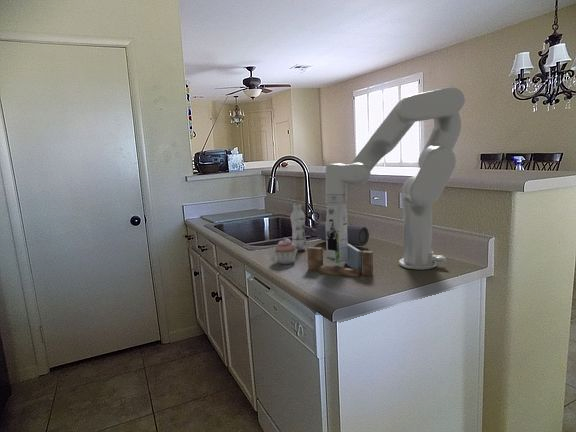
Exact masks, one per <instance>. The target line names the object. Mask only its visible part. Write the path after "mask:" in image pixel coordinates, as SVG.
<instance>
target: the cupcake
mask: <svg viewBox="0 0 576 432" xmlns="http://www.w3.org/2000/svg"><path fill="white" fill-rule="evenodd" d="M298 251H299V250H298V249H296V248H295V245H294V243H292V239H290V238H288V237H285V236H284V237H283V239H282V240H279V241H278V243H277V244H276V245H275V249H274V250H273V253H274V255H275V256H276V259H277V262H278V264H280V265H292V264H293V263H295V261H296V257H297V253H298Z"/></svg>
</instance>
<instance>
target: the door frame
mask: <svg viewBox="0 0 576 432" xmlns="http://www.w3.org/2000/svg"><path fill="white" fill-rule="evenodd" d="M306 248H307V269H308V270H309V271H316V272H317V271H318V273H319V274H327V275H338V276H346V277H357V278H358V277H360V275H361V274H360V269H352V268H351V267H340V266H339V267H338V266H331V265H330V266H329V265H324V251H323V247H318V246H317V247H316V246H308V247H306ZM362 273H363V274H362V276H366V277H372V276H373V275H374V251H373V250H362Z"/></svg>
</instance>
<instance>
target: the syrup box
mask: <svg viewBox="0 0 576 432" xmlns="http://www.w3.org/2000/svg"><path fill="white" fill-rule="evenodd" d="M343 223H344V224H343V230H342V231H341V232H337V231H336V239H337V250H336V251H334V250H328V239H327V231H326V241H325V243H326V261H327V262H332V263H335V264H339V263H343V262H345V261H346V260H348V238H347V224H348V220H347V221H344V222H343ZM331 230H335V228H334V229H331ZM333 235H334V233H333Z"/></svg>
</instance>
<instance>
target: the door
mask: <svg viewBox="0 0 576 432" xmlns="http://www.w3.org/2000/svg"><path fill="white" fill-rule="evenodd" d="M362 252H363V250H360V249H358V248H357V247H356V246H352V245H350V244H349V243H348V260H346V261H344V263H345V264H346V265H347V266H348V267H349V268H352V269H360V275H363V262H362Z"/></svg>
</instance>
